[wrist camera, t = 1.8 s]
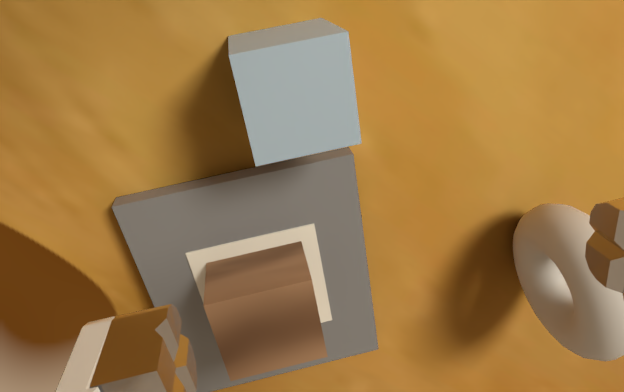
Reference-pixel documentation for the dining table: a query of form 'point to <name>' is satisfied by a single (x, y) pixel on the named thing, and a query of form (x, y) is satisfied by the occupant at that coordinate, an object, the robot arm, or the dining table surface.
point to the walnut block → (263, 311)
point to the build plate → (256, 247)
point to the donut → (567, 282)
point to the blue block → (295, 89)
